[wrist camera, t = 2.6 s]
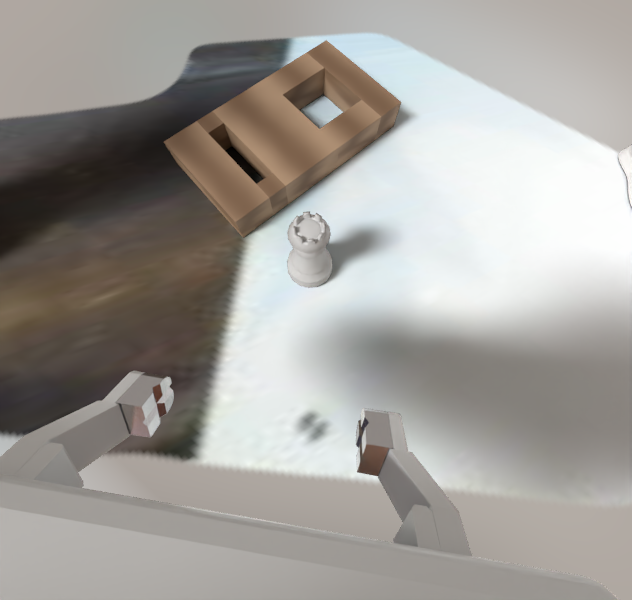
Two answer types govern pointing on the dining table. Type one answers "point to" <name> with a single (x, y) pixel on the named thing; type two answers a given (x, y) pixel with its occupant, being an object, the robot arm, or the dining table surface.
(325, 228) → the rook chess piece
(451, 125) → the dining table surface
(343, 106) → the block
